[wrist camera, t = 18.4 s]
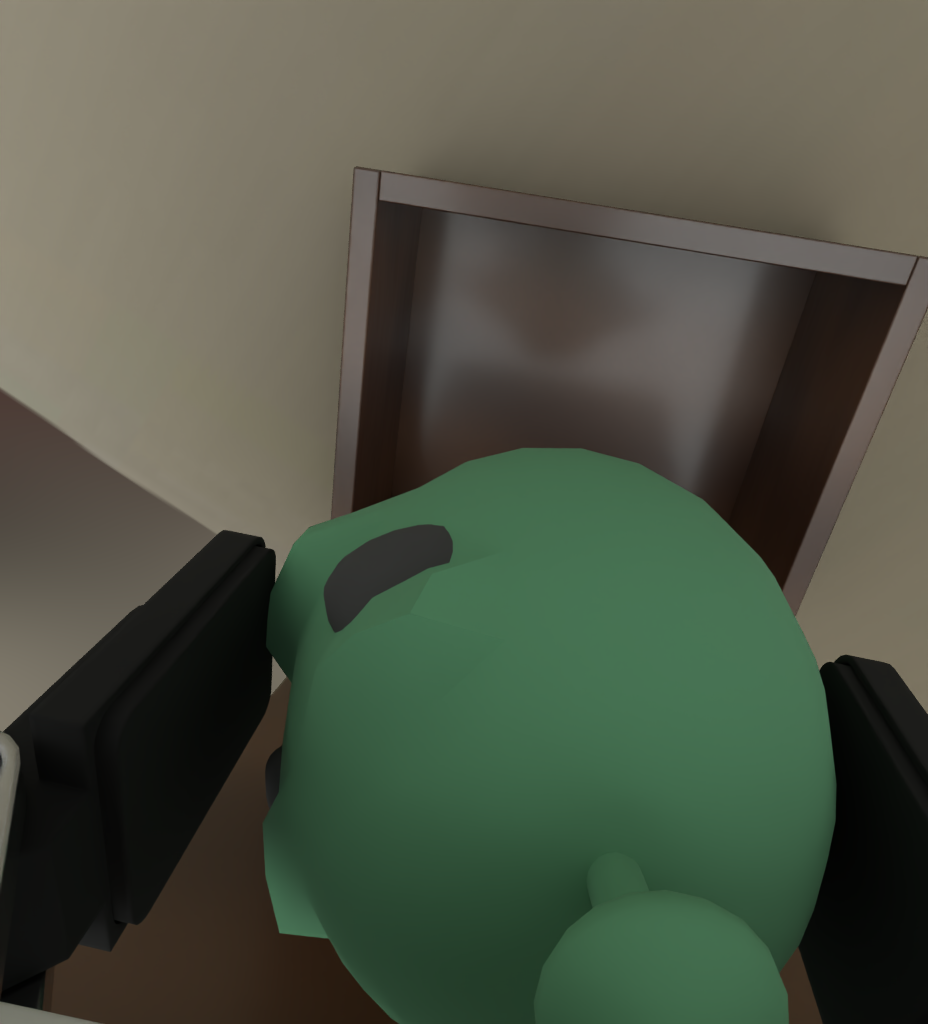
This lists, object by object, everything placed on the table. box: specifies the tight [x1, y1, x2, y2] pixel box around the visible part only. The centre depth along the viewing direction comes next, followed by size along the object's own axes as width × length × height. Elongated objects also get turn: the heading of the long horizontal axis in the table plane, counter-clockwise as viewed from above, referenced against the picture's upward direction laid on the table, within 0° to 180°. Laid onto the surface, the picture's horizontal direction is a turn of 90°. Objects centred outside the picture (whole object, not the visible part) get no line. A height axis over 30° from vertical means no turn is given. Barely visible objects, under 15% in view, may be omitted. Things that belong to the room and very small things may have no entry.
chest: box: [331, 166, 928, 616], centre depth 26 cm, size 17×17×8 cm
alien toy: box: [262, 448, 837, 1024], centre depth 9 cm, size 7×8×10 cm
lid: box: [51, 677, 823, 1024], centre depth 17 cm, size 17×17×5 cm
